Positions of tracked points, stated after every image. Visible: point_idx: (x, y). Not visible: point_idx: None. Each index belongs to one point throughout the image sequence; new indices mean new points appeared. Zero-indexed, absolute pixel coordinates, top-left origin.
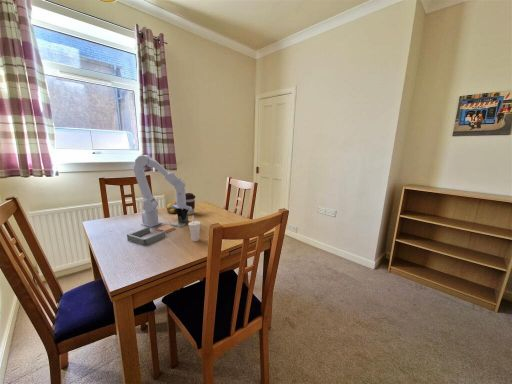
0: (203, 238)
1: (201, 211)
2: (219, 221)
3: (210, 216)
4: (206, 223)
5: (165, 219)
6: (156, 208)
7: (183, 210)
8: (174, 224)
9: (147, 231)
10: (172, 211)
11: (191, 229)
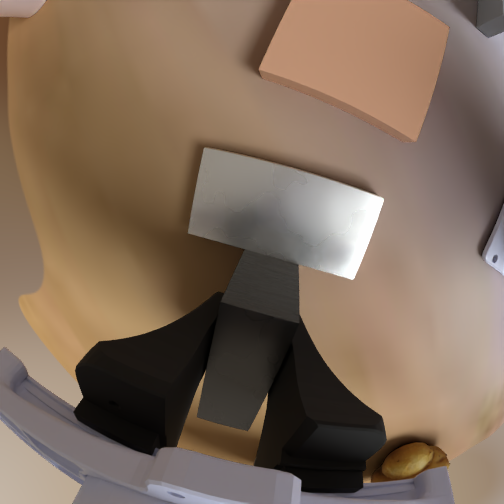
0: (9, 37)
1: None
2: (26, 317)
3: None
4: (53, 283)
5: (457, 352)
6: None
7: (99, 384)
8: (318, 182)
9: (483, 10)
10: (412, 453)
11: None
